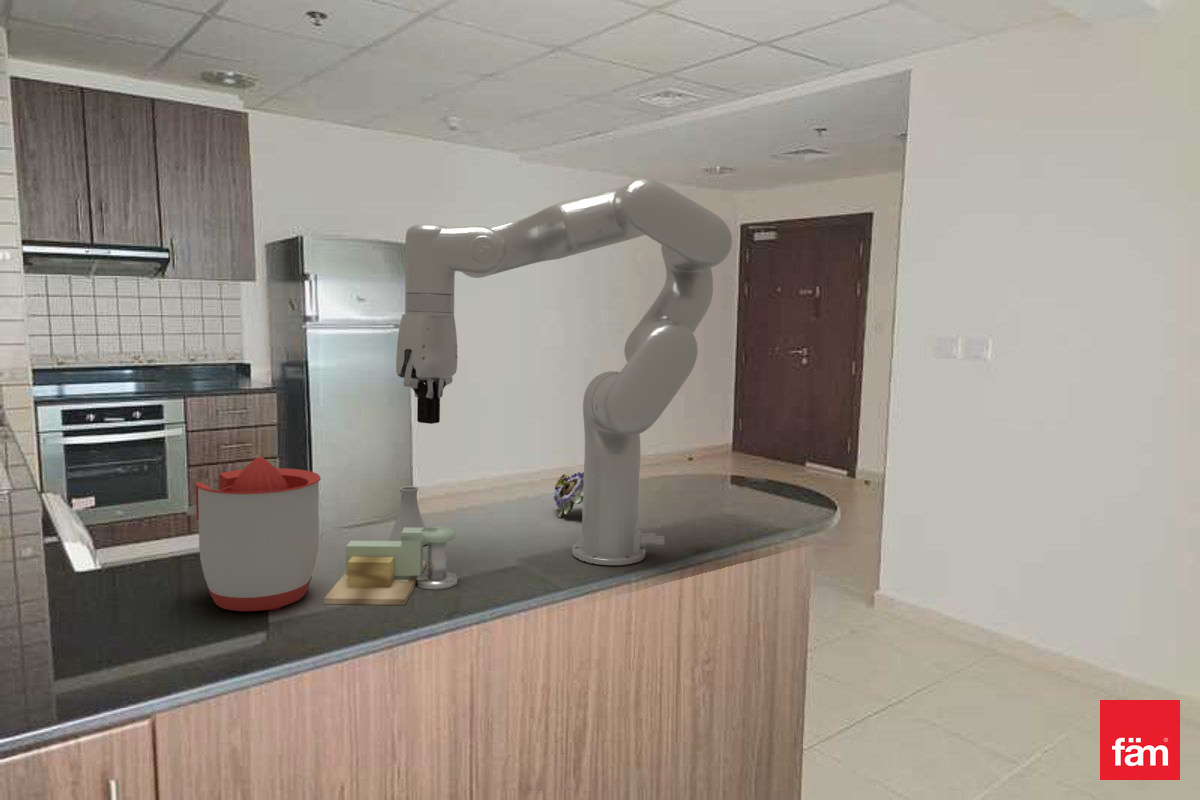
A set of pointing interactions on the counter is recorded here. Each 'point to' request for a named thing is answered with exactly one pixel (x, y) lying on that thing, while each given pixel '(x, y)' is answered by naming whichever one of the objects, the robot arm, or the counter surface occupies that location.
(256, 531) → the citrus juicer
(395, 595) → the oak board
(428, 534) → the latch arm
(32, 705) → the counter surface
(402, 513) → the flask
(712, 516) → the counter surface
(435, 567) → the post
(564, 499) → the passion flower
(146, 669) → the counter surface
